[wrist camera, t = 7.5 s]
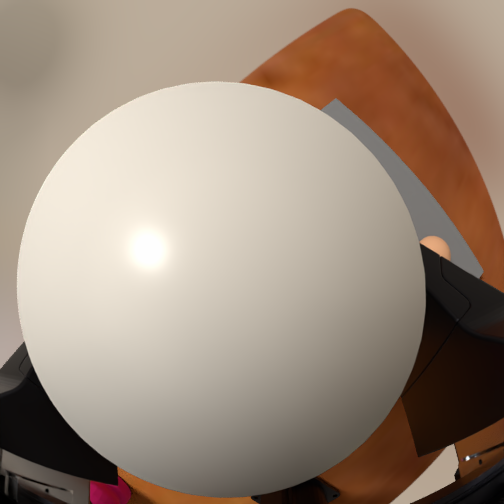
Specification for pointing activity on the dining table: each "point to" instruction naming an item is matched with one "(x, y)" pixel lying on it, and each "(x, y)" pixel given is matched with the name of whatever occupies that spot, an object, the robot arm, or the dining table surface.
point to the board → (409, 190)
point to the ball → (437, 246)
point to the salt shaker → (221, 289)
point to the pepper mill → (109, 493)
